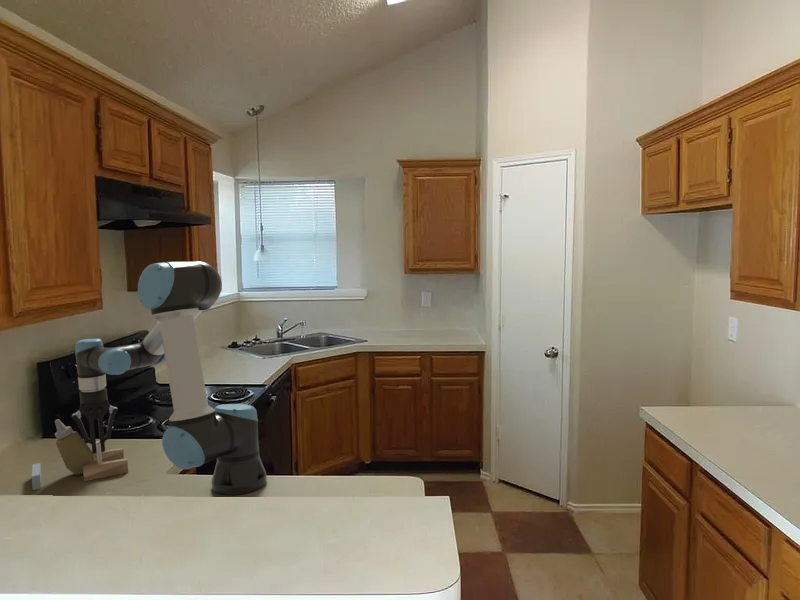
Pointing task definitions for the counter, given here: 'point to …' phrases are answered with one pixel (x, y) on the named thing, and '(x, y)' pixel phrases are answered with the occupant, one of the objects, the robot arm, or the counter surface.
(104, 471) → the bar
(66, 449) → the squeeze bottle
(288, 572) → the counter surface
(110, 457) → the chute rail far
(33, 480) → the bar
